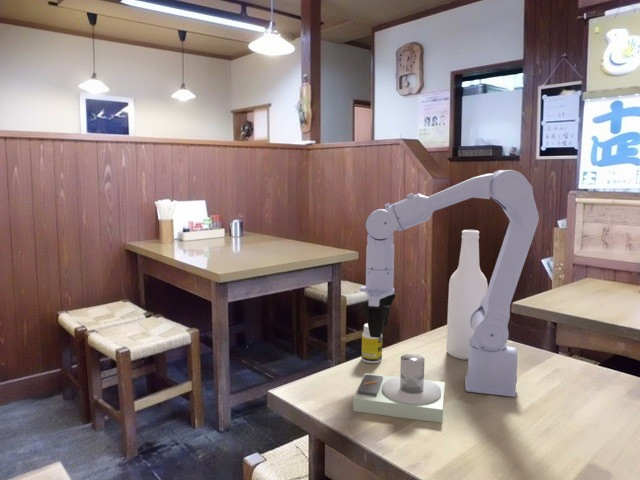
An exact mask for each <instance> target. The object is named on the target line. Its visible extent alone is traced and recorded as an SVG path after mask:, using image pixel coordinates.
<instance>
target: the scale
mask: <svg viewBox="0 0 640 480" xmlns="http://www.w3.org/2000/svg"><path fill="white" fill-rule="evenodd" d="M445 388H446V382H445V381H436V380H429V379H425V378H424V390H423V392H421V393H418V394H410V393H405V392H403V391H402V390H401V389H400V376H394V375H392V376H391V375H387V374H386V375H384V374H374V373H364V375H363V377H362V379H361V381H360V383H359V385H358V387H357V389H356V391H355V393H354V396H353V399H352V412H357V413H363V414H371V415H373V414H374V415H378V416H388V417H393V418H401V419H409V420H417V421H423V422H424V421H425V422H434V423H440V424H442V423H443V416H444V406H445V405H444V403H445V393H446V391H445V390H446V389H445Z"/></svg>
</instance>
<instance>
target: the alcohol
mask: <svg viewBox="0 0 640 480" xmlns="http://www.w3.org/2000/svg"><path fill="white" fill-rule="evenodd" d="M479 234H480V231H479V230H476V229H464V230H462V231H461V236H460V238H461V245H460V253H459V259H458V265H457V269H455V271H454V272H453V273H452V274H451V276H450V278H449V282H448V299H447V300H448V302H447V321H446V322H447V325H446V345H445V346H446V352H447V353H448V355H449V356H451V357H452V358H455V359H459V360H462V361H464V360H465V361H468V359H469V340H470V339H471V338H472V336H473V335H474V331H473V329H472V327H471V324H470V318H471V315H472V314H473V312H474V311H475V310H477V309H478V307H479V306H480V303H481V300H482V299H483V297H484V296H485V295H486V292H487V289H488V286H489V284H488V279H487V278H486V276H485V274H484V273H483V272H482V270H481V266H480V247H479V246H480V243H479V239H480V235H479Z"/></svg>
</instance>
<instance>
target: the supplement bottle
mask: <svg viewBox="0 0 640 480" xmlns="http://www.w3.org/2000/svg"><path fill="white" fill-rule="evenodd" d="M361 360H362V361H363V363H367V364H378V363H381V362H382V360H383V334H382V335H381V337H380V338H376V337H370V333H369V328H368V323H364V325H363V332H362V333H361Z"/></svg>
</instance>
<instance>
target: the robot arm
mask: <svg viewBox="0 0 640 480" xmlns="http://www.w3.org/2000/svg"><path fill="white" fill-rule="evenodd" d="M533 189H534V188H533V186H532V185H531V183H530V182H529V181H528V179H527V178H526V177H525V175H524V174H523V173H522V172H519V171H518V170H513V169H508V170H507V169H499V170H496V171H494V172H492V173H484V174H482V175H478V176H473V177H471V178H470V177H469V179H466V180H464V181H463V180H462V182H458V183H457V184H454V185H452V186H450V187H447V188H446V189H443V190H441V191H439V192H436V193H434V194H432V195H429V196H427V195H424V194H422V193H417V194H414V193H413V192H411V193H409V194H406V198H404V199H402V200H399V201H397V202H395V203H392V204H390V202H388V203H385V204H384V208H385V209H383V208H378V209H376V210H374V211H372V212H371V213H370V214H369V216H367V218H366V222H365V228H366V231H367V237H366V242H367V244H366V249H365V250H366V251H365V253H366V257H365V261H366V262H365V286H363V285H362V286H360V288H359V291H360V292H364V293H365V294H366V296H367V297H368V301H362V302H361V305H360V307H361V309H362V312H363V313H364V316H365V318H366V322H367V323H368V328H369V333H370V337H376V338H380V337H381V335H382V336H383V330H384V327H387V325H388V321H389V316H390V311H391V307H392V304H393V302H394V299H395V298H396V296H397V293H396V292H395V287H394V282H395V281H394V280H395V279H394V278H395V277H394V276H395V274H394V273H395V272H394V271H395V245H394V233H395V231H398V232H403V231H404V230H407V229H409V228H412V227H415V226H417V225H420V224H423V223H425V222H428V221H430V219H431V218H432V215H433V213H434V212H435V211H438V210H441V209H444V208H447V207H450V206H452V205H455V204H458V203H460V202H464V201H467V200H469V199H473V198H475V199H483V200H484V199H485V200H490V199H492V200H493V201H494V202H495V203H497V204H498V206H499V205H500V207H501V208H502V210H503V212H504V213H505V215H506V217H507V218H508V220H509V224H508V227H507V229H506V233H505V235H504V238H503V241H502V244H501V247H500V250H499V253H498V257H497V259H496V262H495V266H494V269H493V272H492V275H491V277H490V281H489V284H488V289H487V292H486V295H485V296H484V297H483V299H482V300H481V303H480V306H479V307H478V309H477V310H475V311H474V312H473V314H472V315H471V318H470V324H471V327H472V329H473V331H474V335H473V336H472V338H471V339H470V340H469V359H468V360H467V361H468V363H467V374H464V375H465V378H464V379H465V380H464V382H465V384H464V385H465V388H464V389H465V391H466V392H470V393H475V394H476V393H477V394H486V395H493V396H504V397H511V398H515V397H516V395H517V393H516V390H517V389H516V388H517V382H518V374H517V373H518V350H517V347H515V346H510V345H507V342H508V340H509V338H510V337H509V335H510V332H509V328H508V327H509V321H510V318H511V303H512V300H513V298H514V295H515V293H516V288H517V286H518V282H519V280H520V277H521V274H522V271H523V267H524V265H525V262H526V259H527V256H528V254H529V250H530V247H531V245H532V242H533V239H534V236H535V233H536V230H537V227H538V224H539V222H540V221H539V220H540V216H539V211H538V208H537V204H536V200H535V197H534V196H535V195H534V190H533Z"/></svg>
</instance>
